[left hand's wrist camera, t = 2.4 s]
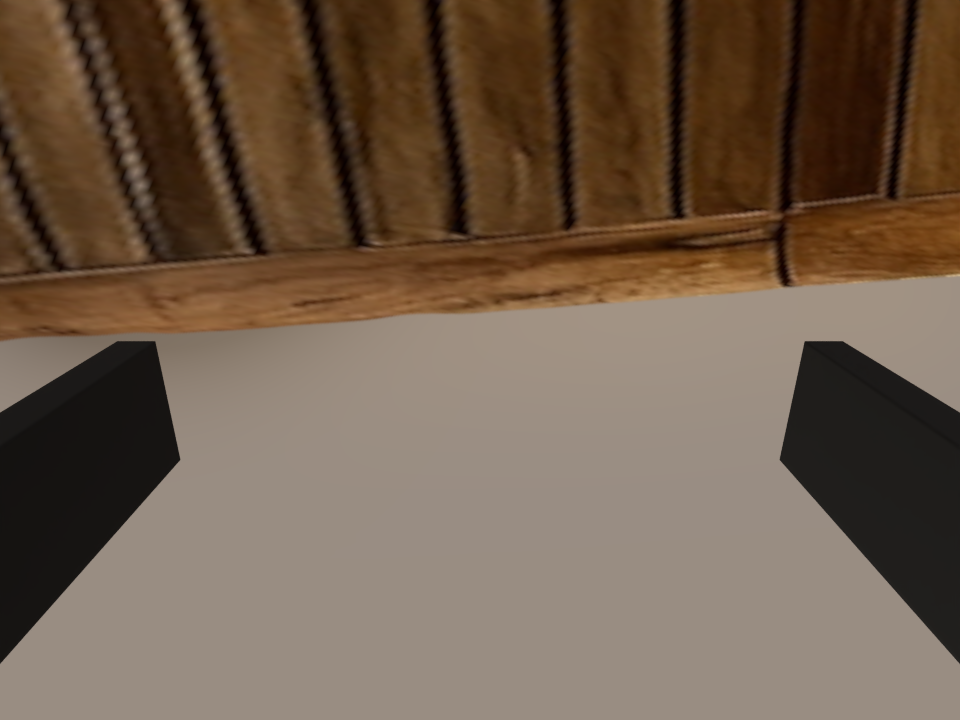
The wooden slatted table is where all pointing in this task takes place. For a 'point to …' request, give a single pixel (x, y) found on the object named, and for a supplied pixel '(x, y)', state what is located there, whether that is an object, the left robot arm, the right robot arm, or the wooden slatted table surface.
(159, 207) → the wooden slatted table surface
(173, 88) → the wooden slatted table surface
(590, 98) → the wooden slatted table surface
